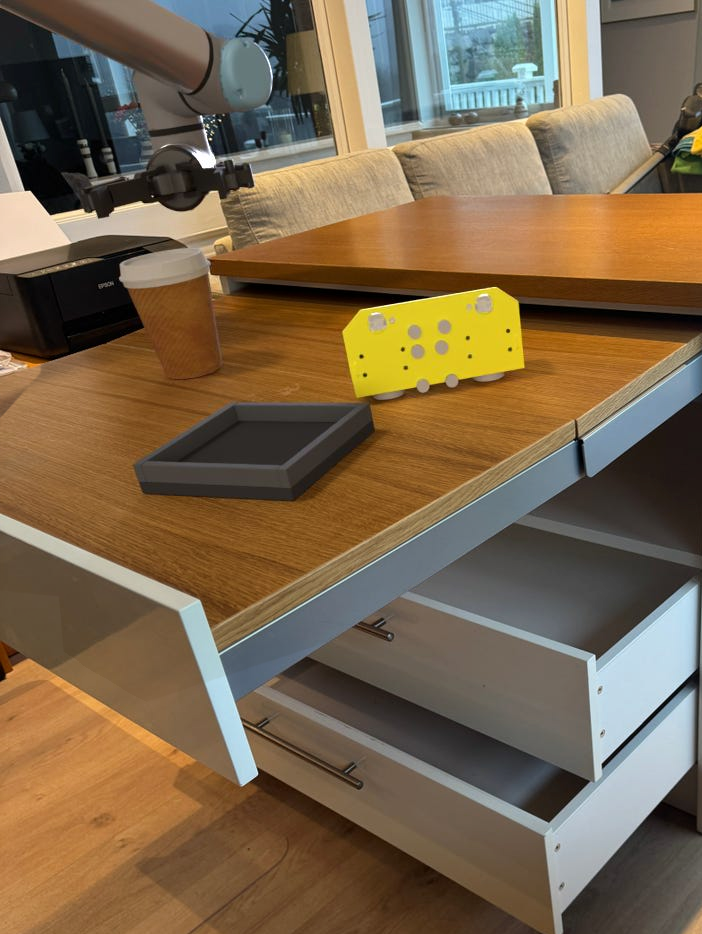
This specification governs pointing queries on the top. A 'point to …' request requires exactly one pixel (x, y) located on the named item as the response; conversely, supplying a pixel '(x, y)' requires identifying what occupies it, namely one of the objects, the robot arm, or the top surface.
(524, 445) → the top surface
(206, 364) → the disposable coffee cup
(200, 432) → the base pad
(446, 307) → the yellow toy chassis
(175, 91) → the robot arm
